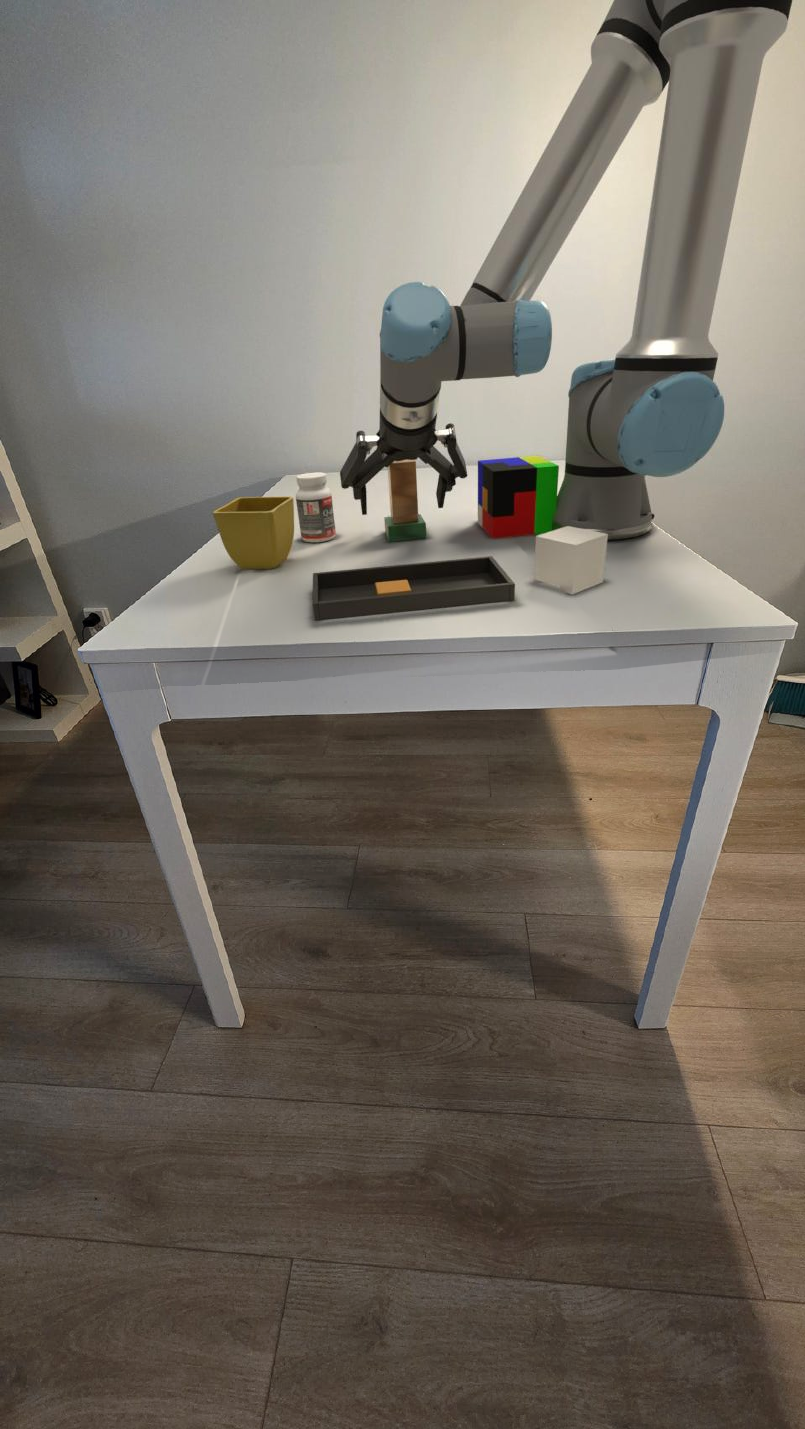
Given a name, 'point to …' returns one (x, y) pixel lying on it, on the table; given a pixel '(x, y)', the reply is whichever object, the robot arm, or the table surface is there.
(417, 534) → the stacked blocks
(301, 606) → the table surface
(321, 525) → the pill bottle
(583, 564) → the beige cube
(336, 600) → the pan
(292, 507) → the flower pot
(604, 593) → the table surface
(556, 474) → the puzzle toy
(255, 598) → the table surface
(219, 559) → the table surface
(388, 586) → the orange flat block
